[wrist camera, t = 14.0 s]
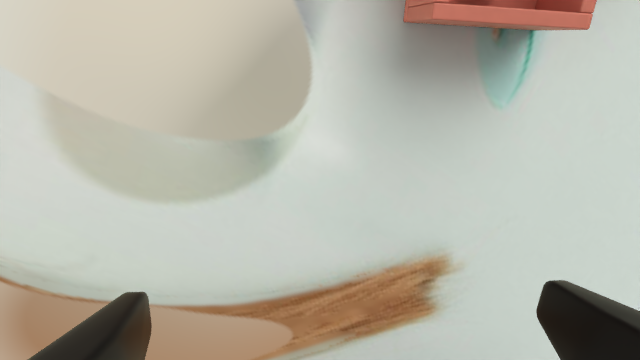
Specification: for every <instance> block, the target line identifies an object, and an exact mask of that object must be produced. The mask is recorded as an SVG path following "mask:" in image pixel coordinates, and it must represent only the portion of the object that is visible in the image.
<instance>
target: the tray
mask: <svg viewBox="0 0 640 360" xmlns="http://www.w3.org/2000/svg"><path fill="white" fill-rule="evenodd" d="M596 1H597V0H406V4H405V12H404V22H410V23H426V24H442V25H458V26H474V27H489V28H505V29H521V30H587V29H589V27H590V23H591V19H592V16H593V14H591V13H593V12H594V8H595V4H596Z"/></svg>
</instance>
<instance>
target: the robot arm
mask: <svg viewBox="0 0 640 360" xmlns="http://www.w3.org/2000/svg"><path fill="white" fill-rule="evenodd" d="M537 317H538V320H539V322H540V324H541V326H542V327H543V329H544V331H545V333H546V334H547V336H548V338H549V340H550V342H551V343H552V345H553V347H554V349H555V350H556V352H557V354H558V356H559V358H560V359H561V360H640V311H638V310H635V309H633V308H630V307H628V306H626V305H623V304H621V303H618V302H616V301H614V300H611V299H609V298H606V297H604V296H601V295H599V294H597V293H594V292H592V291H589V290H587V289H585V288H582V287H580V286H577V285H575V284H572V283H570V282H568V281H563V280H558V281H548V282H546V283H545V284H544V286H543V289H542V293H541V296H540V300H539V303H538V306H537ZM150 336H151V317H150V308H149V300H148V296H147V294H146V293H145V292H127V293H124V294H122V295H121V296H119V297H118V298H117V299H115V300H114V301H112V302H111V303H109V304H108V305H106V306H105V307H103V308H102V309H101V310H99V311H98V312H96V313H95V314H93V315H92V316H91V317H89V318H88V319H86V320H85V321H83V322H82V323H80V324H79V325H77V326H76V327H74V328H73V329H72V330H70V331H69V332H67V333H66V334H64V335H63V336H62V337H60V338H59V339H57V340H56V341H54V342H53V343H51V344H50V345H49V346H47V347H46V348H44V349H43V350H41V351H40V352H38V353H37V354H35V355H34V356H32V357H31V358H30V359H28V360H145V356H146V352H147V348H148V344H149V340H150Z"/></svg>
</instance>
